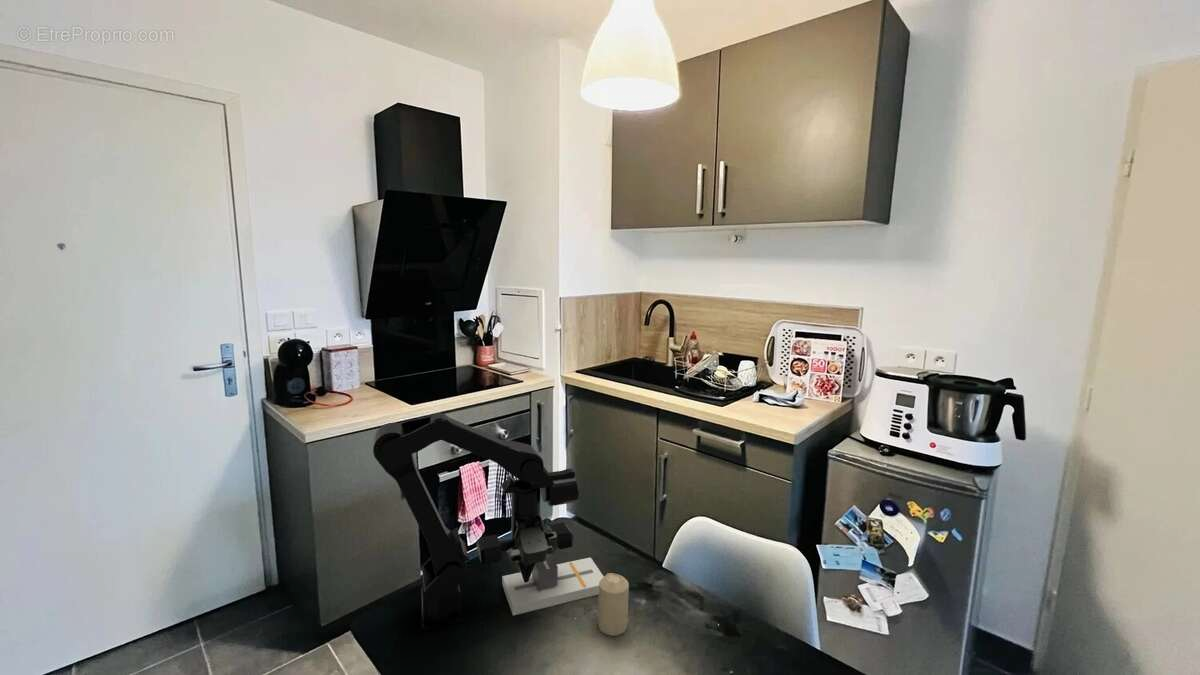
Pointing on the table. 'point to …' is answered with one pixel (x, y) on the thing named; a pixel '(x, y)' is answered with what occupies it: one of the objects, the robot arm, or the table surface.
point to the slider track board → (553, 587)
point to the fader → (545, 573)
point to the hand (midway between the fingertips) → (525, 581)
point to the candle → (613, 604)
